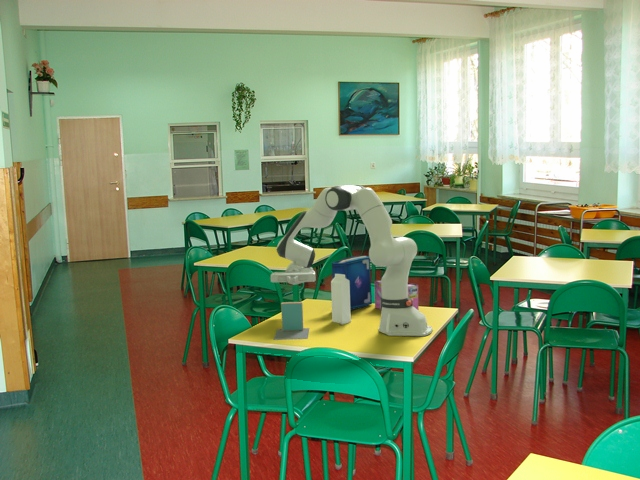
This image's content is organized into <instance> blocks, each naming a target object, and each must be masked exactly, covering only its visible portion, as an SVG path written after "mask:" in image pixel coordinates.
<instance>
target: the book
mask: <svg viewBox="0 0 640 480" xmlns="http://www.w3.org/2000/svg"><path fill="white" fill-rule="evenodd" d="M331 273H332V275H331V277H332V280H333V279H334V277H335V274H344V275H345V278H346V279H348V280H349V282H350V311H354V310H358V309H362V308H365V307H367V306H370V305H372V304H373V297H372V295H373V294H372V279H371V278H372V276H371V275H372V274H371V273H372V272H371V260H370V258H369V255H354V256H349V257H348V256H347V257H345V258H341V259H340V260H335V261H333V262H331ZM357 308H358V309H357ZM353 309H354V310H353Z"/></svg>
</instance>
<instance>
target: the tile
mask: <svg viewBox="0 0 640 480" xmlns="http://www.w3.org/2000/svg"><path fill="white" fill-rule="evenodd" d="M303 303H304V302H303V301H288V302H287V301H286V302H281V303H280V308H281V309H280V311H281V329H282V331H301V330H304V328H305V327H304V311H303V310H304V307H303V306H304V305H303Z"/></svg>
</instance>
